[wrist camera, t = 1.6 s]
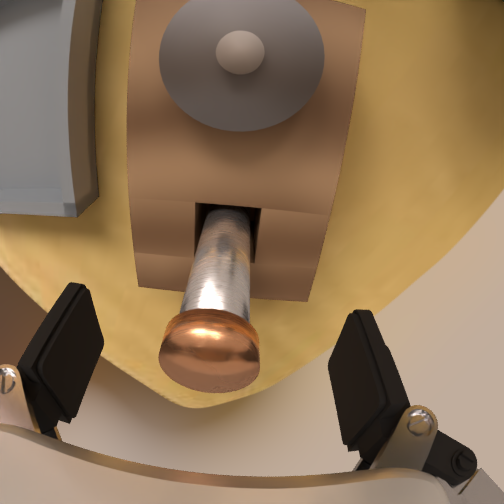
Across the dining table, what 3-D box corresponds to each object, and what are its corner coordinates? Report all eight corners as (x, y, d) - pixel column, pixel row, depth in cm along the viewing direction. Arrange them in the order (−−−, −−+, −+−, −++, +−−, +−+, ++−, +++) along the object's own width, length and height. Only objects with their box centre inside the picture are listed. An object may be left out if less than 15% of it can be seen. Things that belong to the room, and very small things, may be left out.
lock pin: (209, 173, 19) (153, 327, 8) (257, 177, 19) (266, 338, 8) (207, 215, 20) (164, 387, 9) (252, 219, 20) (253, 395, 9)
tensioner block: (170, 13, 14) (112, -26, 6) (332, 28, 14) (391, -4, 7) (162, 236, 22) (124, 319, 15) (295, 248, 23) (314, 336, 15)
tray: (-20, 13, 10) (-46, 14, 7) (110, -38, 11) (87, -52, 8) (-16, 195, 19) (-39, 211, 16) (98, 196, 20) (77, 217, 17)
